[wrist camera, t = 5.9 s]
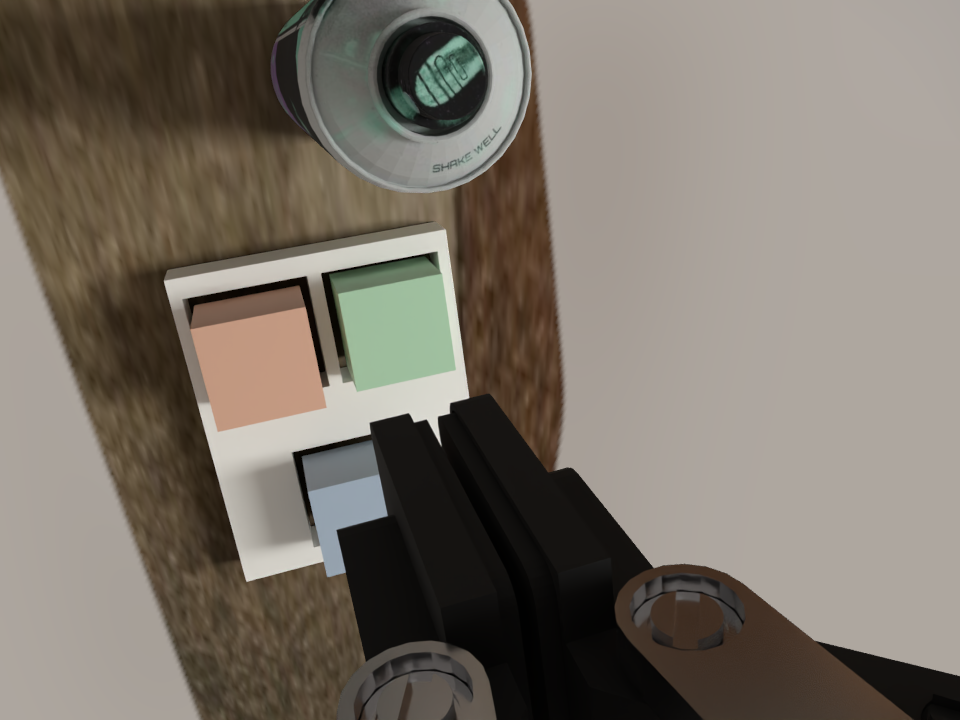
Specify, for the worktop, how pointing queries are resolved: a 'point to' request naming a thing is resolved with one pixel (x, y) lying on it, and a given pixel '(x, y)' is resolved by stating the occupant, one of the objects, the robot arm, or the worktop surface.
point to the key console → (270, 445)
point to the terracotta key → (257, 357)
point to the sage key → (393, 322)
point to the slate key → (342, 495)
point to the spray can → (406, 86)
